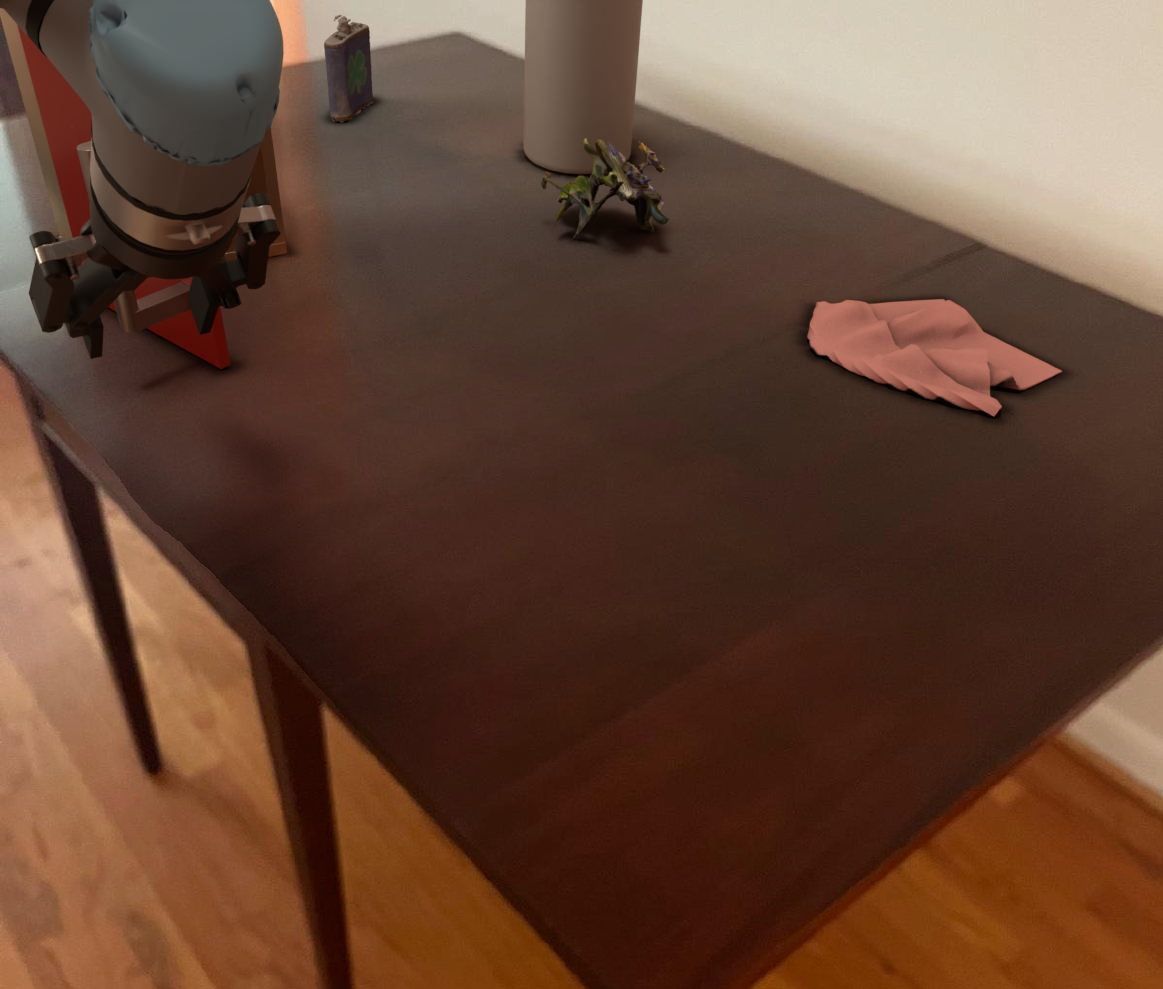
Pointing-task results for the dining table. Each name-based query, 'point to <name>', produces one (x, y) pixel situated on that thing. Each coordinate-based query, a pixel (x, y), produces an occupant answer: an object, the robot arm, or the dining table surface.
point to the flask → (348, 69)
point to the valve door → (70, 150)
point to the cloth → (923, 350)
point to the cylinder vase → (579, 79)
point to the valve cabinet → (259, 183)
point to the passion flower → (613, 186)
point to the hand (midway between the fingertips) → (145, 327)
